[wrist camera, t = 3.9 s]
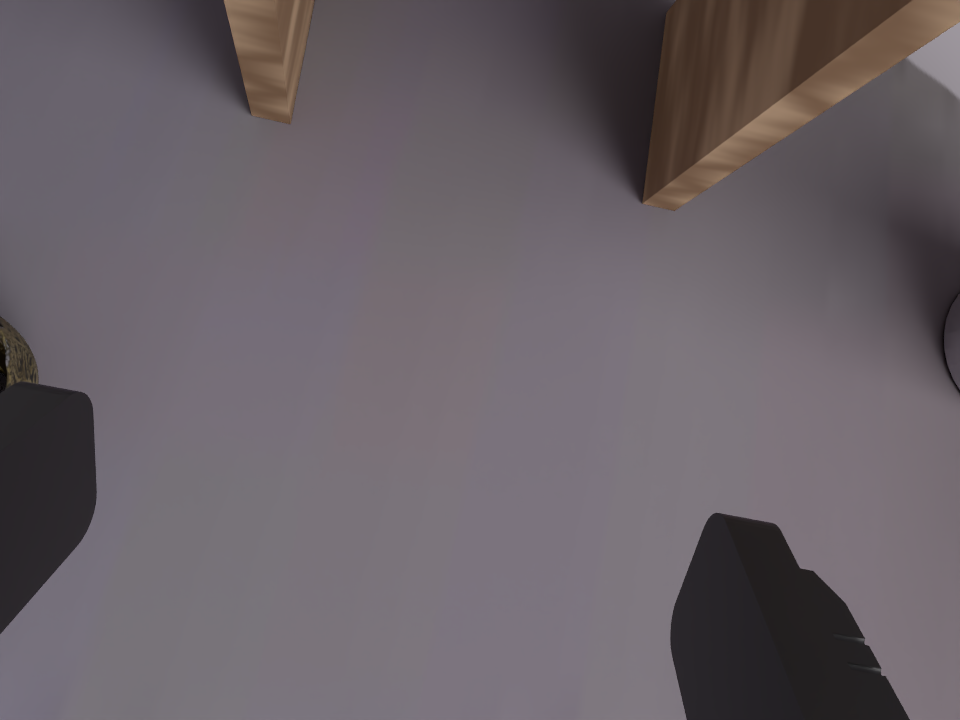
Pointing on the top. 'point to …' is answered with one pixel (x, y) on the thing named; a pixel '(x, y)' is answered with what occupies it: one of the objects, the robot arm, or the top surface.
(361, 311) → the top surface
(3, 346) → the cup
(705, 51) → the oak shelf
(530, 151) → the top surface
